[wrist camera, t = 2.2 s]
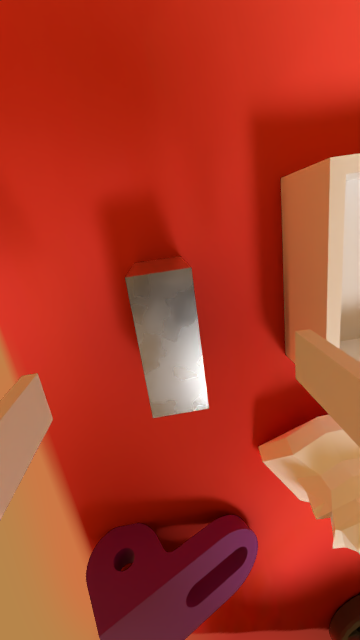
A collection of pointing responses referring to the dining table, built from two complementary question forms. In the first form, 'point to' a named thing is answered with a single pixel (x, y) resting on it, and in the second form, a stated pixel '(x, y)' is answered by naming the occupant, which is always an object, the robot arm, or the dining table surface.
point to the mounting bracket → (166, 579)
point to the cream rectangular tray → (322, 253)
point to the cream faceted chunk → (321, 474)
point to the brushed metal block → (168, 335)
